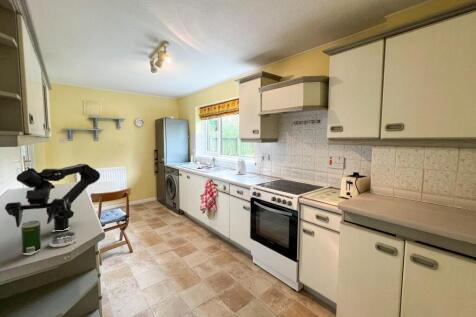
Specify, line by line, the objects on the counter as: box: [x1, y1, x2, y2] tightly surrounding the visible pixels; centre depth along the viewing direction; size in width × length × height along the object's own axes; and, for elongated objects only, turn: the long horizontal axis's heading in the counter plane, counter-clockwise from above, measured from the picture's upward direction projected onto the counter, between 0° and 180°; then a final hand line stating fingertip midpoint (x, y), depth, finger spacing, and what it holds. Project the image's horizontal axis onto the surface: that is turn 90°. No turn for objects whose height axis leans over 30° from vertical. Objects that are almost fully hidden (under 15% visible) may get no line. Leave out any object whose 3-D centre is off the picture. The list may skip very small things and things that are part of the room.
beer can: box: [20, 220, 42, 253], centre depth 85 cm, size 5×5×12 cm
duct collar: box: [50, 231, 77, 244], centre depth 95 cm, size 10×10×3 cm
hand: (33, 225), depth 88 cm, fingers open, 9 cm apart
